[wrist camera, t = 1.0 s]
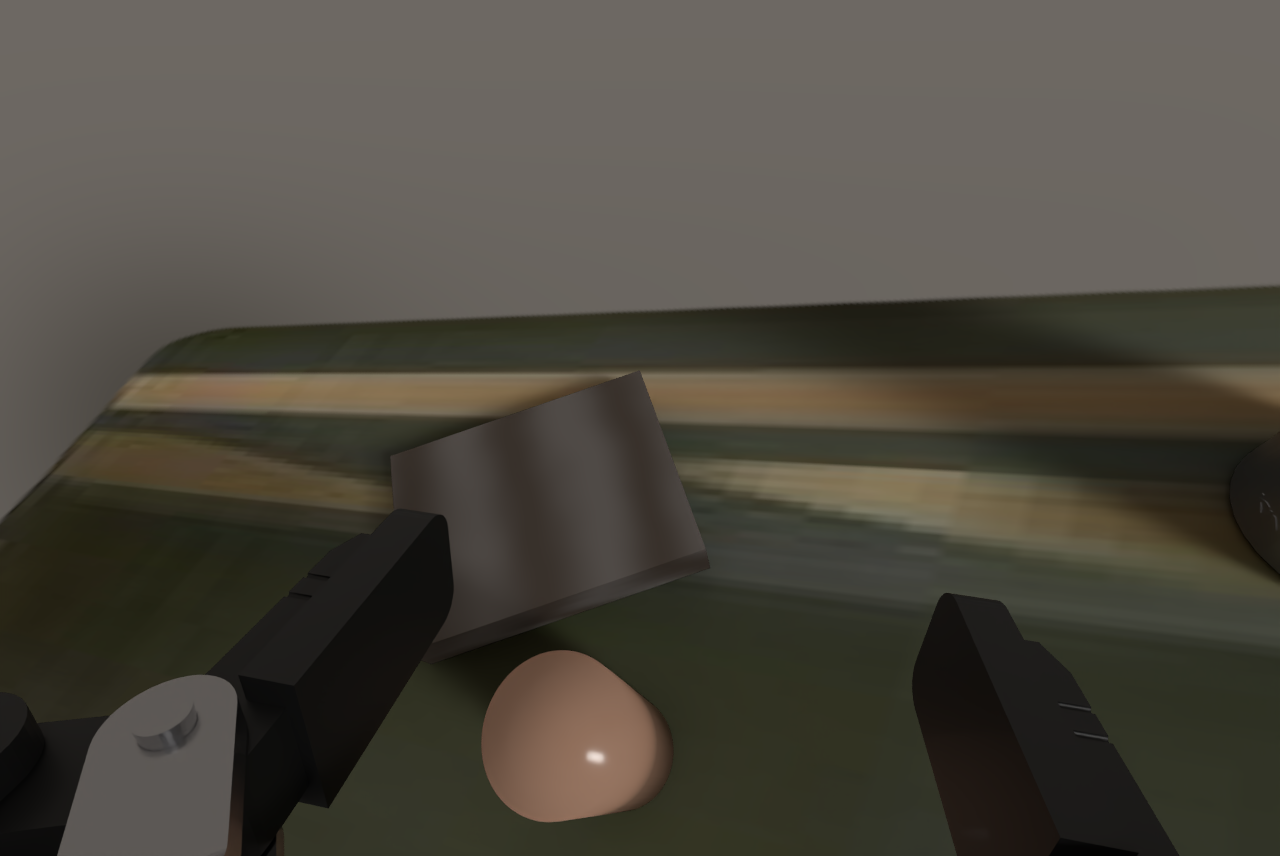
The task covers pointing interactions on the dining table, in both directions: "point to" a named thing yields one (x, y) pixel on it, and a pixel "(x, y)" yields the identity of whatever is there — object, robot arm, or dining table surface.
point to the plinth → (552, 512)
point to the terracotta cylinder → (573, 740)
